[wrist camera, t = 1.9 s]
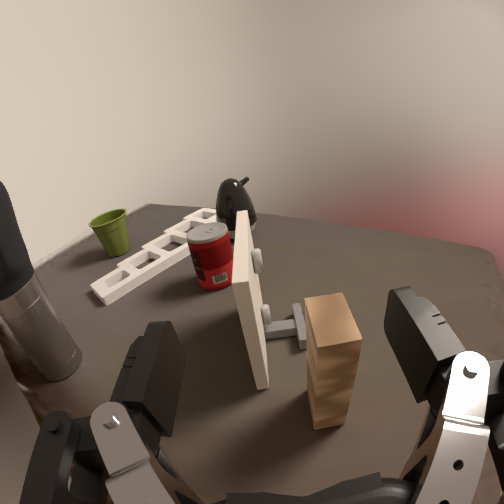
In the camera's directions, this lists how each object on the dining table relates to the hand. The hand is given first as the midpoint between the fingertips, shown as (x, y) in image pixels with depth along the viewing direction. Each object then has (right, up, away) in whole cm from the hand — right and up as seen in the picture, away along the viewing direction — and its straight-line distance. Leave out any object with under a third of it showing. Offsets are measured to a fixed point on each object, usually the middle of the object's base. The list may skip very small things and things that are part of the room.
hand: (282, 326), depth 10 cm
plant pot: (-40, +3, +68) cm, 79 cm away
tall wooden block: (+8, -16, +20) cm, 26 cm away
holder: (-24, +3, +64) cm, 69 cm away
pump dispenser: (-4, +7, +65) cm, 66 cm away
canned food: (-8, -3, +48) cm, 48 cm away
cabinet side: (+6, -10, +31) cm, 33 cm away
